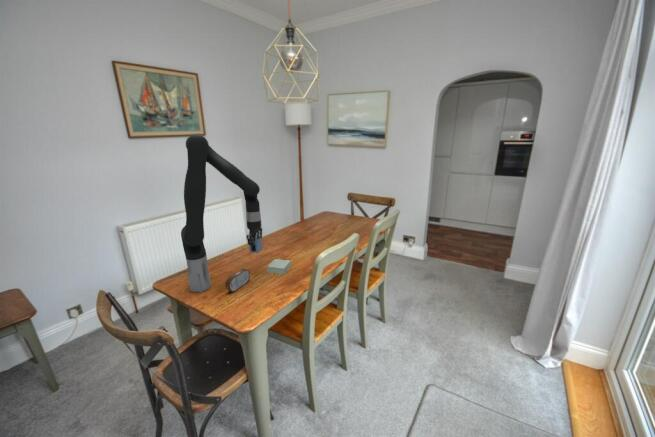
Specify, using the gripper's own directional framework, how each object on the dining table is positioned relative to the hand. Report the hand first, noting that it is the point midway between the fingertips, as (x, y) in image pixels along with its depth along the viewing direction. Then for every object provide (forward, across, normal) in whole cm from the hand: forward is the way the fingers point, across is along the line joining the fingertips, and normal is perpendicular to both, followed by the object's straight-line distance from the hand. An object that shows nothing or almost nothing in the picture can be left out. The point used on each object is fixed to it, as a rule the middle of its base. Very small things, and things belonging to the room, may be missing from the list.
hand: (255, 249), depth 153 cm
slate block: (+1, 0, 0) cm, 1 cm away
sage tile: (+15, +6, -10) cm, 19 cm away
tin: (+15, -16, +3) cm, 22 cm away
